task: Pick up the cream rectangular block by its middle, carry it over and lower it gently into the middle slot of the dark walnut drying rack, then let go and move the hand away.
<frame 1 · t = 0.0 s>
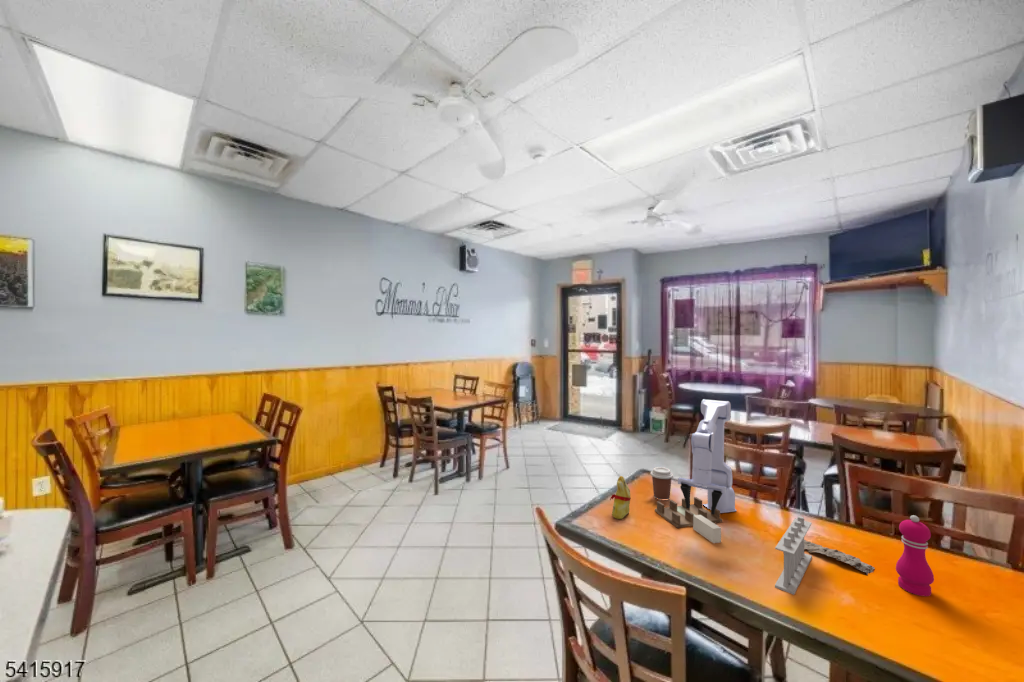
hand: (700, 510, 131), 11 cm above the table, tool pointing down, fingers open, 7 cm apart
test tube rack: (794, 572, 115), on the table
coffee cup: (661, 498, 168), on the table
drying rack: (687, 516, 150), on the table
cream rectangular block: (706, 535, 136), on the table
stone fragment: (820, 555, 124), on the table
pepper mill: (914, 589, 107), on the table
chocolate bunny: (619, 514, 153), on the table
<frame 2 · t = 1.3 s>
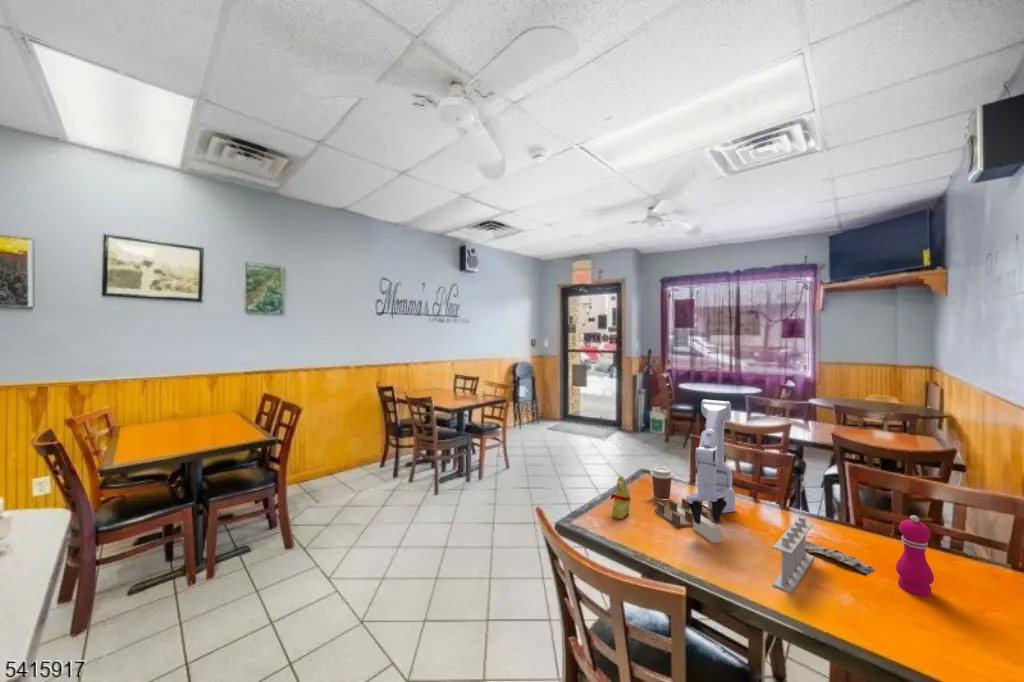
hand: (706, 521, 136), 5 cm above the table, tool pointing down, fingers open, 7 cm apart
nothing on the table moved.
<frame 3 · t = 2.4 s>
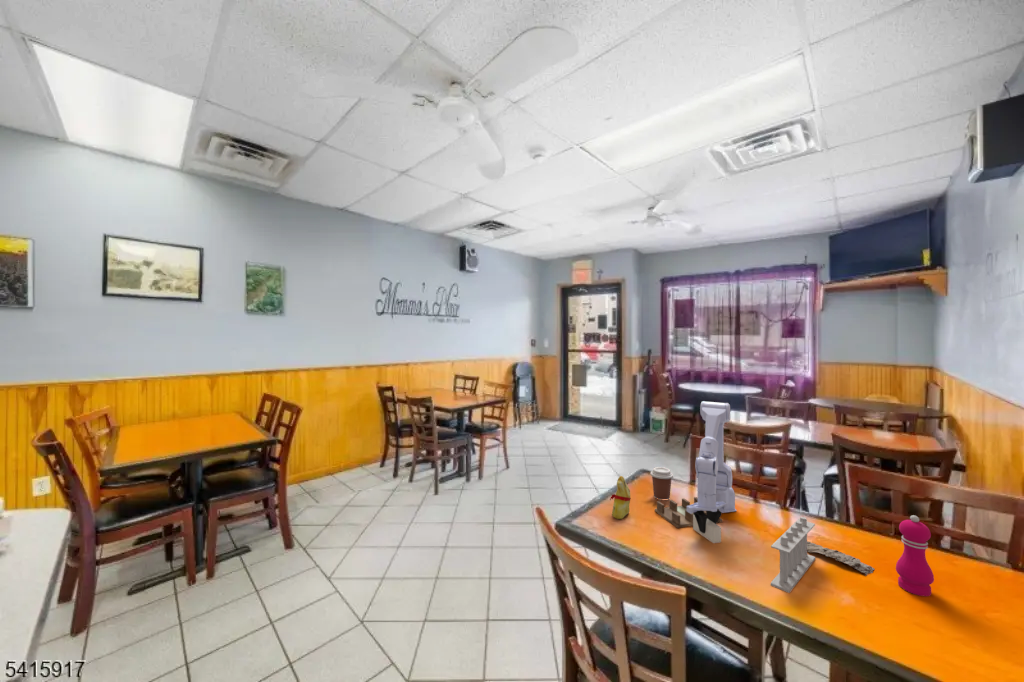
hand: (706, 531, 136), 1 cm above the table, tool pointing down, fingers closed on cream rectangular block, 3 cm apart
cream rectangular block: (706, 535, 136), on the table, touching gripper
everything else where it was.
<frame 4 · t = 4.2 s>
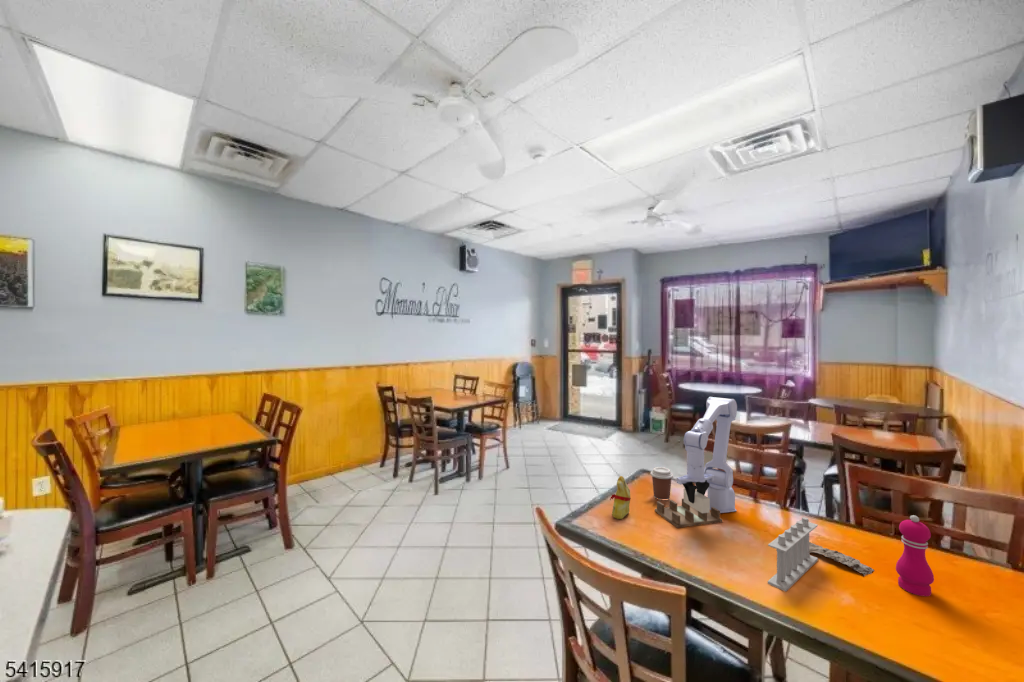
hand: (695, 501, 144), 8 cm above the table, tool pointing down, fingers closed on cream rectangular block, 3 cm apart
cream rectangular block: (696, 506, 144), point 6 cm above the table, touching gripper
everything else where it was.
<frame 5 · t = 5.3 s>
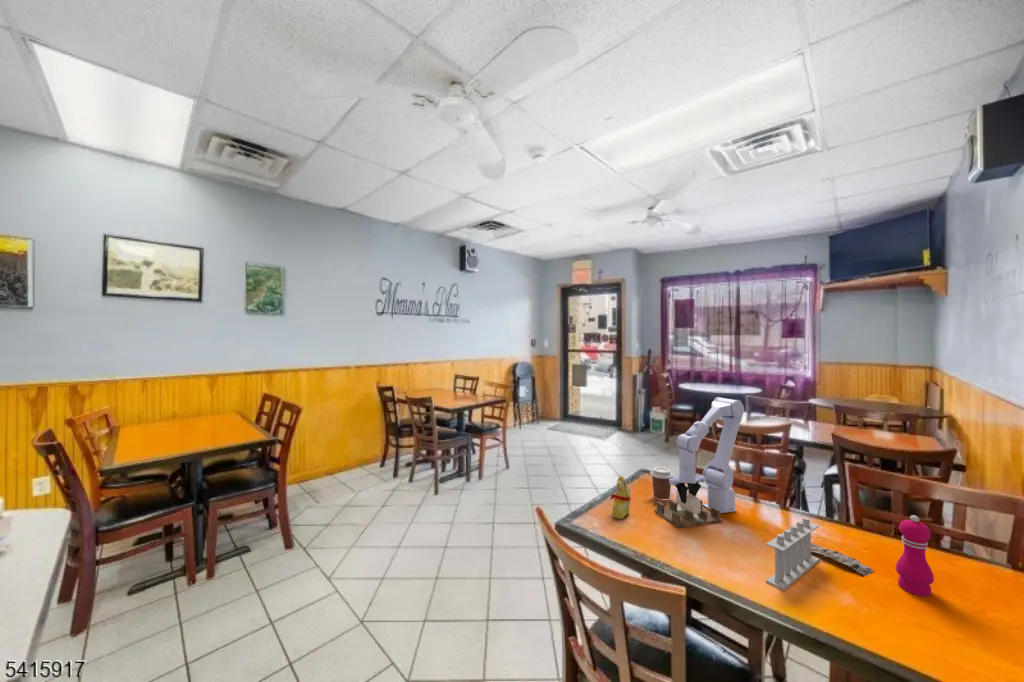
hand: (687, 502, 150), 6 cm above the table, tool pointing down, fingers closed on cream rectangular block, 3 cm apart
cream rectangular block: (688, 507, 150), point 4 cm above the table, touching gripper
when the fingers open (4 cm above the table, at t = 6.0 s): cream rectangular block stays where it is, resting on drying rack.
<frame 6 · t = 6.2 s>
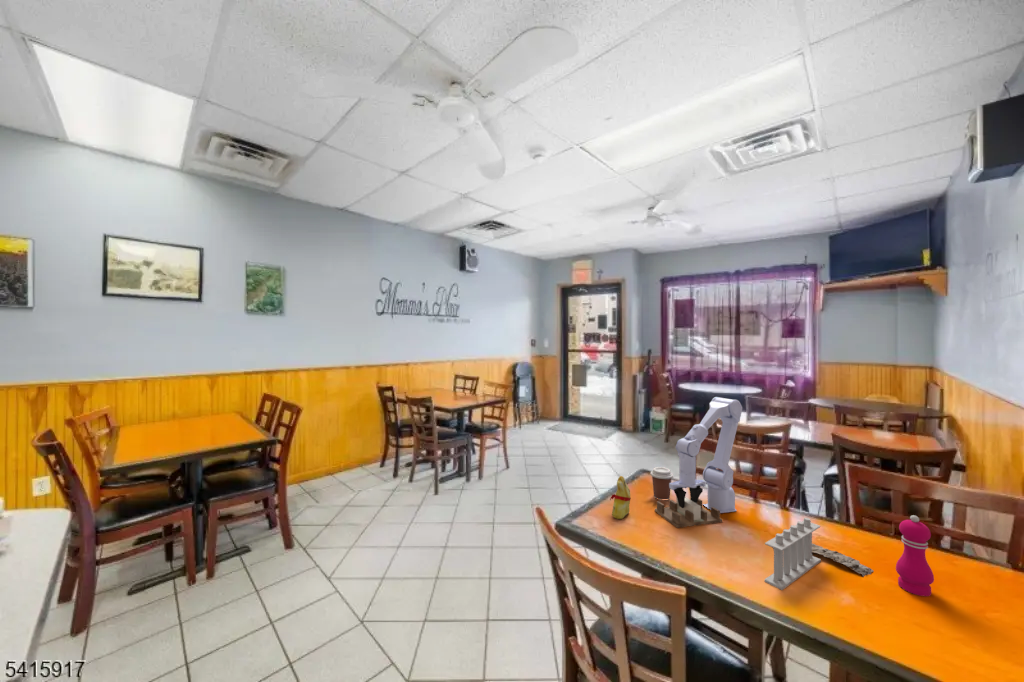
hand: (687, 506, 150), 4 cm above the table, tool pointing down, fingers open, 5 cm apart
cream rectangular block: (688, 514, 150), point 1 cm above the table, touching drying rack
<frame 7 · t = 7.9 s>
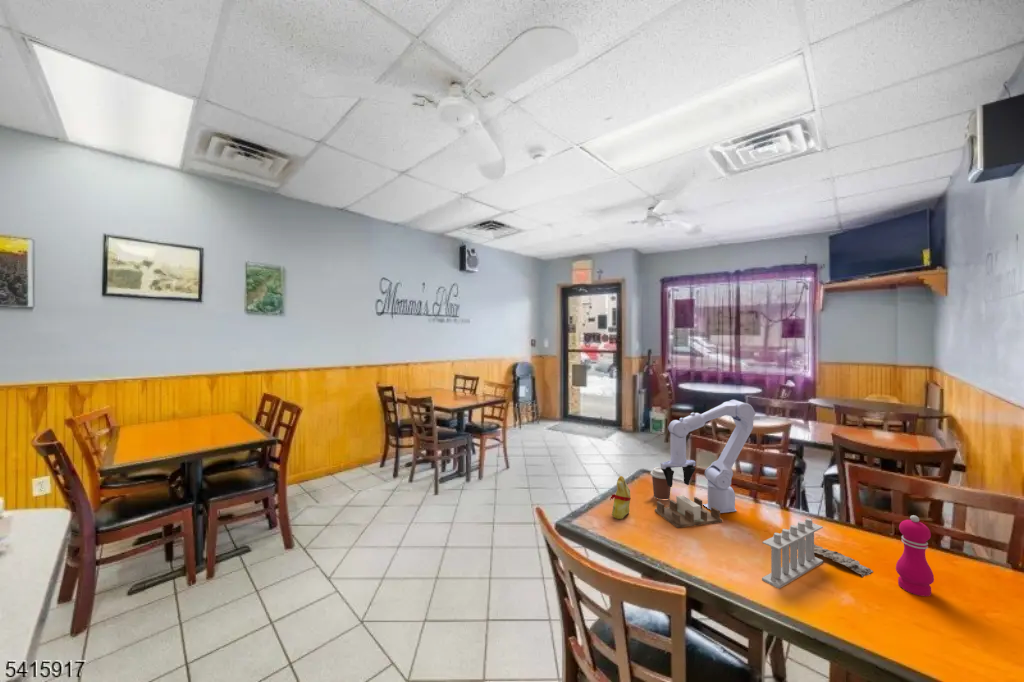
hand: (678, 485, 157), 9 cm above the table, tool pointing down, fingers open, 7 cm apart
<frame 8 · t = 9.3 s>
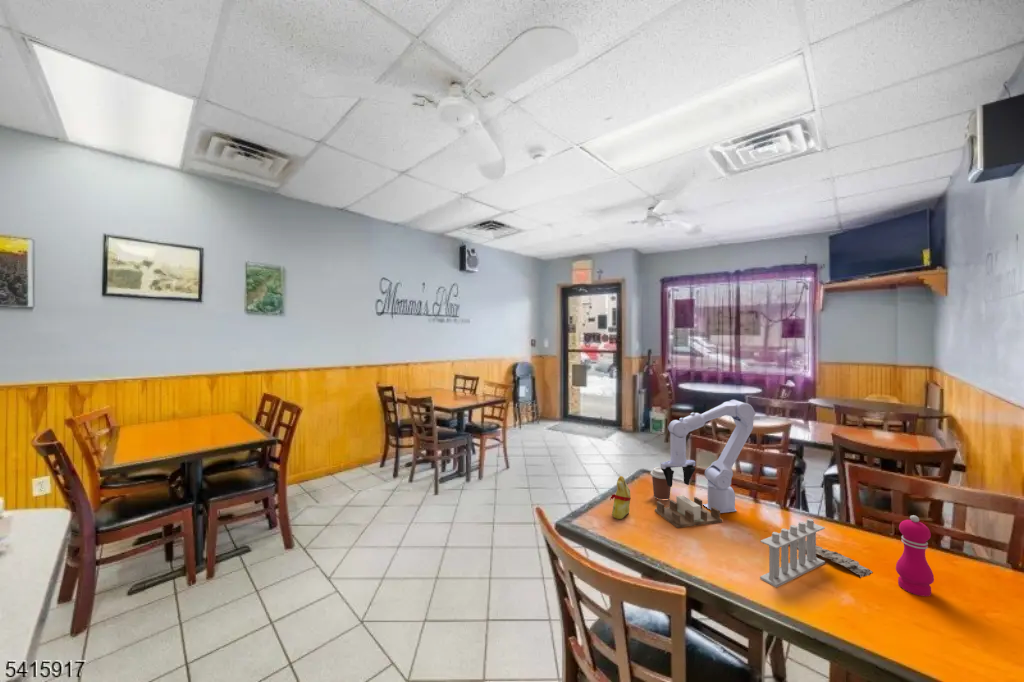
hand: (678, 485, 157), 9 cm above the table, tool pointing down, fingers open, 7 cm apart
at the end: cream rectangular block 0.4 cm off-centre on the drying rack, point 1.1 cm above the drying rack's base; cream rectangular block tilted 0°; the gripper is holding nothing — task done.
